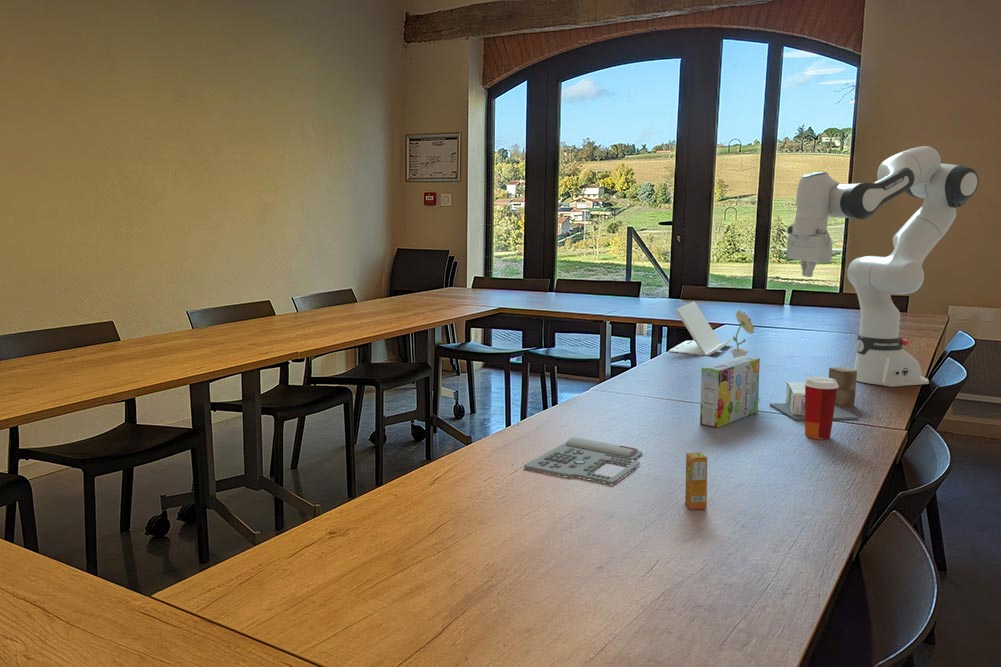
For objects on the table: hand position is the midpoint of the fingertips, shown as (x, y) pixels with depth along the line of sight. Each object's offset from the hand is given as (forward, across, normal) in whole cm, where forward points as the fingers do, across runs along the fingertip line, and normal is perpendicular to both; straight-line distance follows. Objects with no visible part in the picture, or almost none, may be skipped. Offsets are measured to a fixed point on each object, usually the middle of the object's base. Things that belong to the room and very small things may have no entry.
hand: (807, 276), depth 221 cm
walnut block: (+34, -17, -4) cm, 38 cm away
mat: (+34, -24, +8) cm, 43 cm away
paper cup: (+34, -45, +18) cm, 59 cm away
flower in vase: (+34, -6, +22) cm, 41 cm away
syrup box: (+31, -16, +9) cm, 35 cm away
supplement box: (+34, -84, +62) cm, 110 cm away
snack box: (+34, -28, +33) cm, 55 cm away
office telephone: (+35, -58, +76) cm, 102 cm away
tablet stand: (+34, +66, +7) cm, 75 cm away
